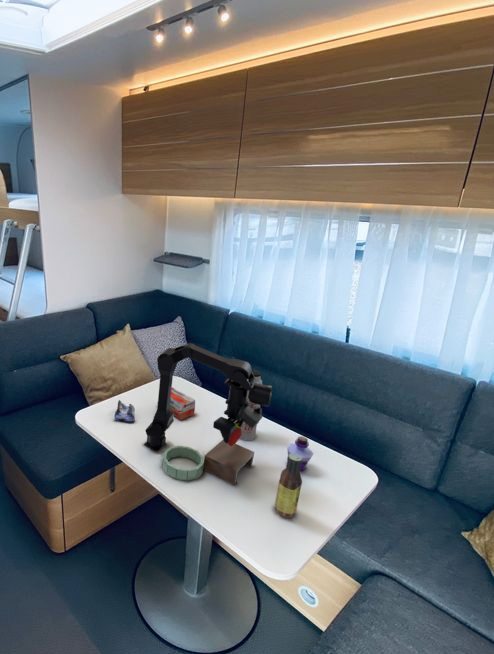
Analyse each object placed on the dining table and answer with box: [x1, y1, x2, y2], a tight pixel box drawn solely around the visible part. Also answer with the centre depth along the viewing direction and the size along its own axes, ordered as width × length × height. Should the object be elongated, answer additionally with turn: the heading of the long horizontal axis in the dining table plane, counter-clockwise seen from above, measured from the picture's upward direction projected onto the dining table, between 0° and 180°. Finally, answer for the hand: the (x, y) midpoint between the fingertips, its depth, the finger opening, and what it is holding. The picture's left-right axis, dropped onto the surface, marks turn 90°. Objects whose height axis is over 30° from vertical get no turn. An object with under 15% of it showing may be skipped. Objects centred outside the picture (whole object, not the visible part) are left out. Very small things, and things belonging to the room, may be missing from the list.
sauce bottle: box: [274, 453, 303, 519], centre depth 123 cm, size 6×6×20 cm
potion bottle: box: [286, 435, 314, 472], centre depth 145 cm, size 9×9×12 cm
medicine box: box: [170, 386, 196, 421], centre depth 181 cm, size 15×8×8 cm, turn 38°
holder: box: [162, 445, 204, 482], centre depth 145 cm, size 14×14×4 cm
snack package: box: [114, 399, 136, 423], centre depth 176 cm, size 12×6×12 cm
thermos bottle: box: [239, 369, 263, 441], centre depth 161 cm, size 8×8×28 cm
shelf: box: [203, 439, 255, 486], centre depth 145 cm, size 12×14×6 cm
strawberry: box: [228, 424, 242, 446], centre depth 141 cm, size 6×8×10 cm
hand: (231, 438), depth 142 cm, fingers closed on strawberry, 7 cm apart
